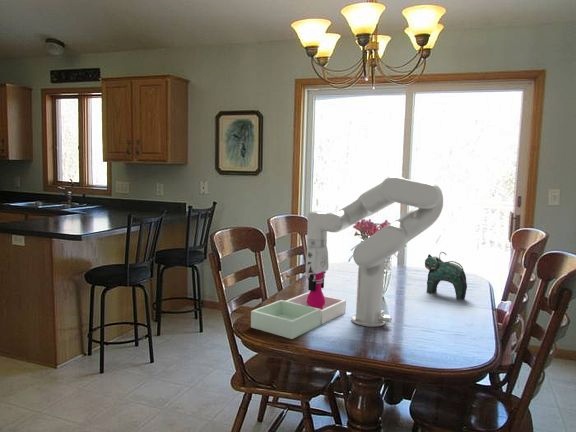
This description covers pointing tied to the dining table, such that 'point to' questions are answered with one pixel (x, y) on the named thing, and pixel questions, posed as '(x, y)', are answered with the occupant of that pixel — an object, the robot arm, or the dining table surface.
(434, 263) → the ceramic cat
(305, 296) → the crate
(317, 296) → the pepper mill
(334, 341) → the dining table surface
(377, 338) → the dining table surface
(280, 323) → the bin
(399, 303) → the dining table surface
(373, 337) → the dining table surface
